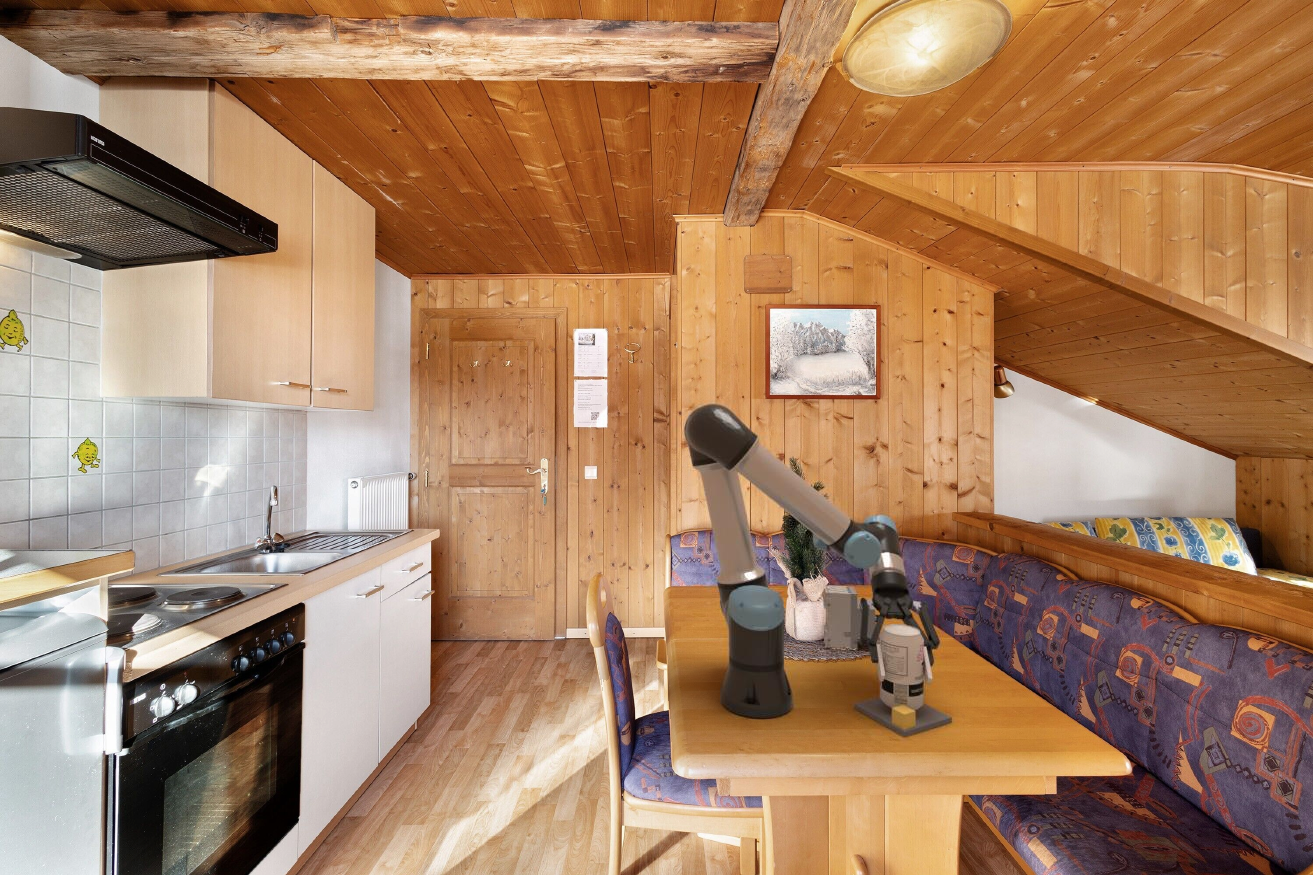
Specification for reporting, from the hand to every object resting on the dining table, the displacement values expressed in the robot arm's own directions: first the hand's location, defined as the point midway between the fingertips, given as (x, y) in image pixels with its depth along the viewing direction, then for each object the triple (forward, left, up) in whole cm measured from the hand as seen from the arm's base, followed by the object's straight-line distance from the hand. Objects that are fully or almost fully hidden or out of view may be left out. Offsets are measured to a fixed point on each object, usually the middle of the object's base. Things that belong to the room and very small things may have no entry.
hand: (905, 679), depth 119 cm
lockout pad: (+2, +3, -9) cm, 9 cm away
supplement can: (+2, +3, -6) cm, 7 cm away
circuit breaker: (+21, +37, -9) cm, 43 cm away
